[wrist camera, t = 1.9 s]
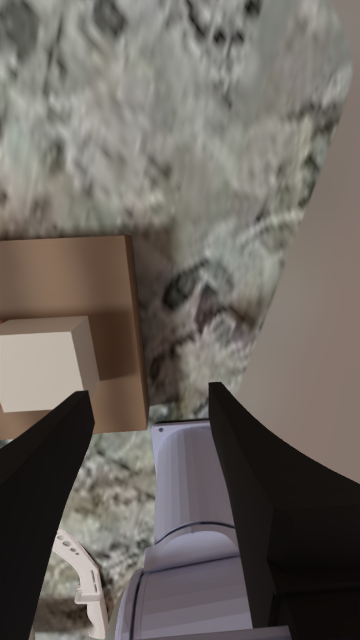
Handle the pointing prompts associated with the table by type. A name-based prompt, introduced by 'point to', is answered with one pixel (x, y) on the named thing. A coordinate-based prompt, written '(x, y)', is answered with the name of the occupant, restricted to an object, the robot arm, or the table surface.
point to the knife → (85, 583)
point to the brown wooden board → (82, 300)
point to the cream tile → (45, 362)
